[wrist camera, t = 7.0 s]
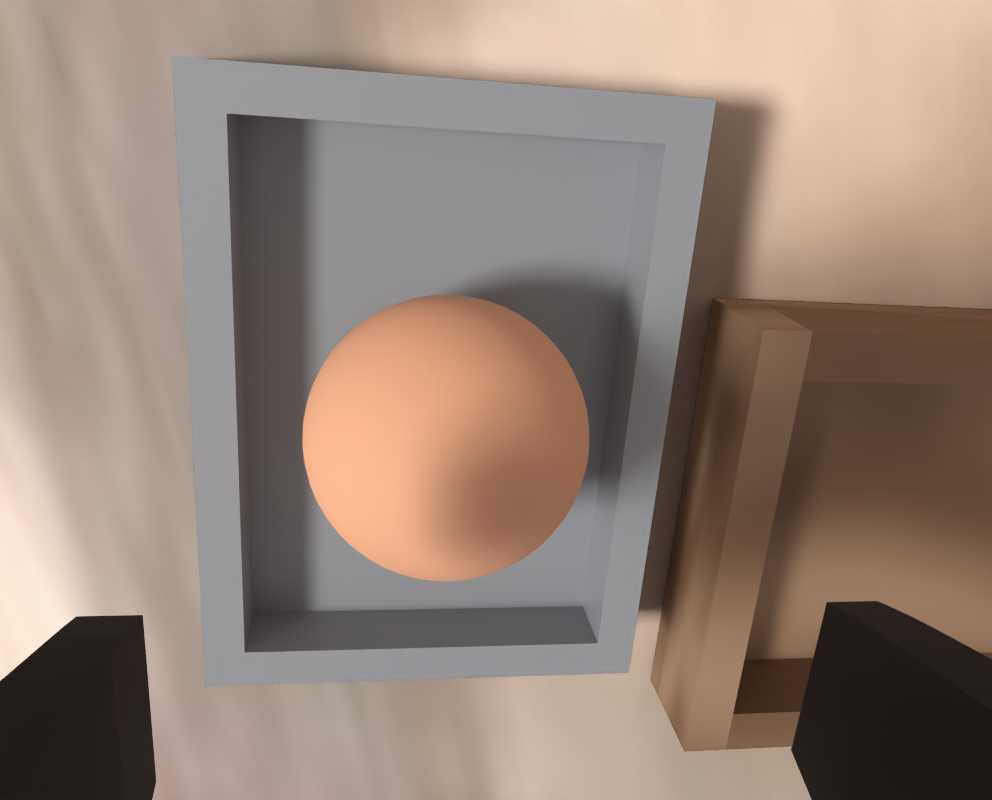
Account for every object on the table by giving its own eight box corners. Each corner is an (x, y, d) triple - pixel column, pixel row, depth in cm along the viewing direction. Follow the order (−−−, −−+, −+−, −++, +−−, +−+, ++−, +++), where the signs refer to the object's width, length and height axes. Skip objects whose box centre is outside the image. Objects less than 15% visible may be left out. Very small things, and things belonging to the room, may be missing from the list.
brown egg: (553, 499, 18) (604, 638, 14) (319, 501, 18) (291, 646, 13) (569, 272, 17) (636, 341, 12) (312, 265, 16) (278, 335, 12)
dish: (1095, 665, 24) (1173, 728, 22) (650, 679, 22) (684, 751, 19) (1226, 318, 20) (1336, 349, 18) (713, 298, 18) (763, 329, 16)
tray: (603, 614, 21) (628, 673, 19) (222, 622, 19) (205, 686, 17) (674, 96, 17) (716, 98, 15) (197, 58, 15) (171, 55, 13)
